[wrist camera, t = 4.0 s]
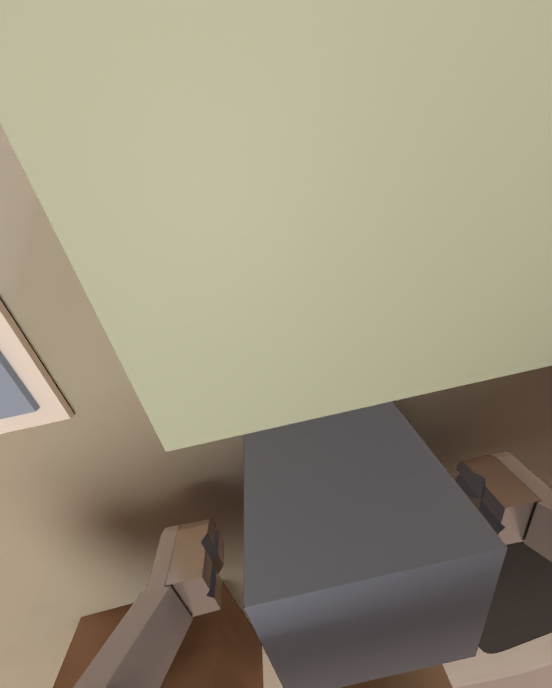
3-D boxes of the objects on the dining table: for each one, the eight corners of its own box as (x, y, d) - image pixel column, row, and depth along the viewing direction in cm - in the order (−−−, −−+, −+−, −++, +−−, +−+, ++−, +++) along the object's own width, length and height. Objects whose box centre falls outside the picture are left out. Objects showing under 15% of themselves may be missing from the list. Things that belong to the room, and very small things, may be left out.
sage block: (376, 41, 6) (833, -557, 1) (382, 278, 8) (563, 362, 3) (140, 92, 6) (-236, -343, 1) (210, 316, 8) (165, 451, 3)
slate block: (385, 392, 10) (507, 547, 5) (387, 487, 12) (475, 656, 7) (244, 423, 10) (243, 607, 5) (272, 513, 12) (289, 699, 7)
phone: (548, 505, 13) (592, 616, 19) (531, 489, 14) (579, 601, 19) (404, 572, 14) (487, 657, 20) (396, 554, 15) (479, 641, 21)
